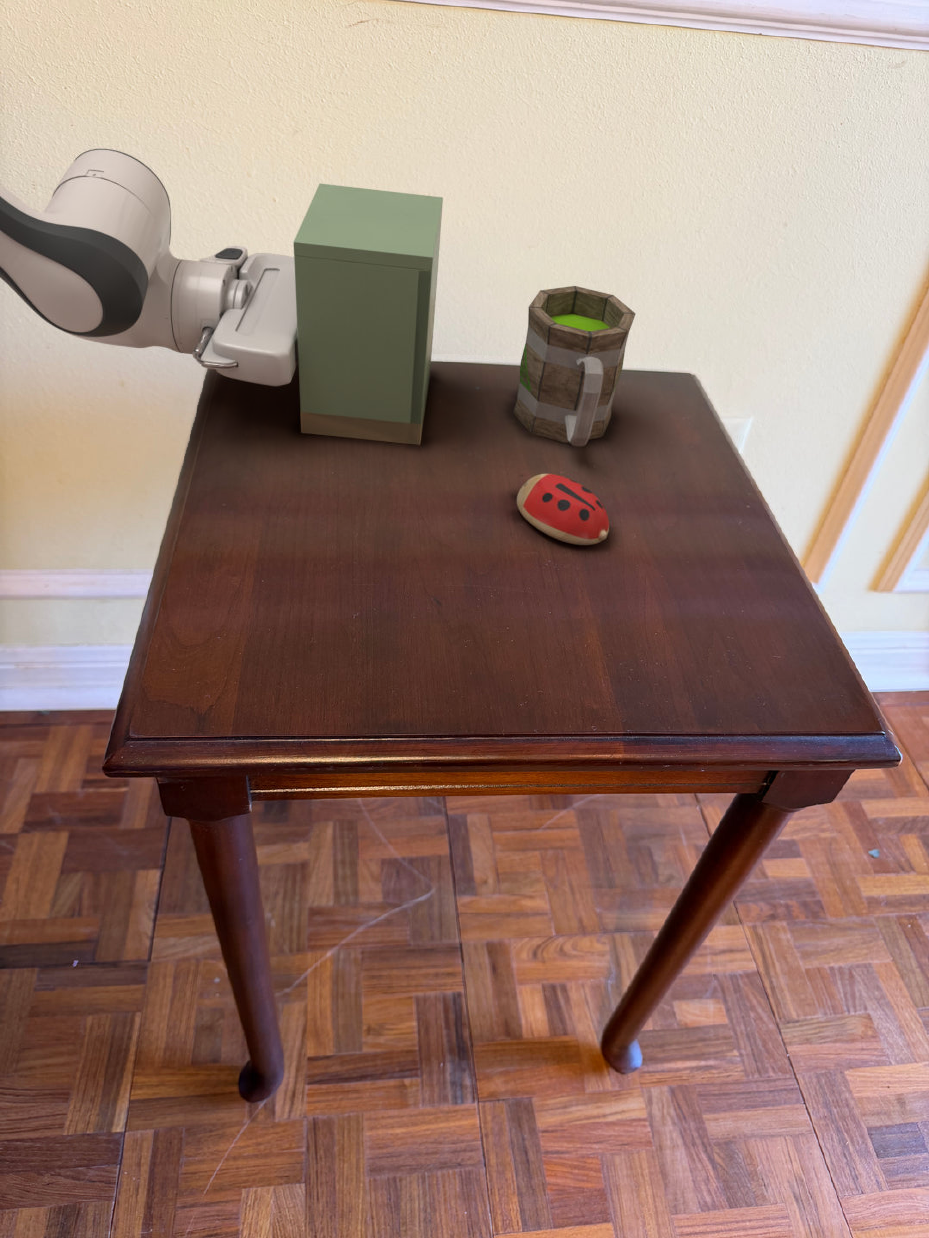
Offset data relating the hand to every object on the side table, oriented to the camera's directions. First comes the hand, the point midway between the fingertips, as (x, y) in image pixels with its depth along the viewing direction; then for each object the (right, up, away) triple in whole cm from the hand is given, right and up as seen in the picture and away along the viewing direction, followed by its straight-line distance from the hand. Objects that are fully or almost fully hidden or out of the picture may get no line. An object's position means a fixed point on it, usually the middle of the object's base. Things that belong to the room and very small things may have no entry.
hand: (353, 326), depth 89 cm
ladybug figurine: (+20, -20, -5) cm, 29 cm away
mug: (+22, -9, +6) cm, 24 cm away
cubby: (+1, -6, +6) cm, 9 cm away
